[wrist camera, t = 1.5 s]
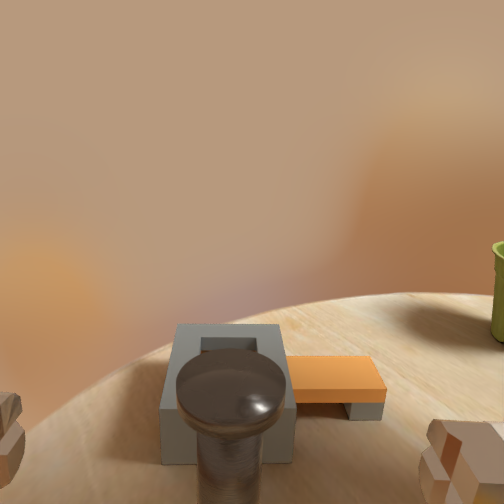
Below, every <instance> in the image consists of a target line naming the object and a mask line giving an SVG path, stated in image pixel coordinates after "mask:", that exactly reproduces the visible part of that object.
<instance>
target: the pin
mask: <svg viewBox="0 0 504 504" xmlns="http://www.w3.org/2000/svg"><path fill="white" fill-rule="evenodd" d="M285 393H286V378H285V375H284V373H283V371H282V370H281V368H280V367H279V366H278V365H277V364H276V363H275V362H274V361H273V360H271V359H270V358H268V357H266V356H264V355H262V354H260V353H257V352H254V351H250V350H245V349H236V348H225V349H217V350H212V351H208V352H205V353H202V354H200V355H198V356H196V357H194V358H192V359H191V360H189V361H188V362H187V363H186V364H185V365H184V366H183V367H182V368H181V369H180V371H179V373H178V375H177V378H176V404H177V410H178V413H179V415H180V417H181V418H182V420H183V421H184V422H185V423H186V424H187V425H188V426H189V427H190V428H192V429H193V430H195V431H197V504H259V500H260V483H261V466H262V450H263V433H264V431H266V430H268V429H269V428H271V427H272V426H273V425H274V424H275V423H276V422H277V421H278V420H279V418H280V417H281V415H282V413H283V410H284V405H285Z"/></svg>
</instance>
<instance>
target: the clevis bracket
mask: <svg viewBox="0 0 504 504" xmlns="http://www.w3.org/2000/svg"><path fill="white" fill-rule="evenodd" d="M225 348H236V349H245V350H250V351H254V352H257V353H260V354H262V355H264V356H266V357H268V358H270V359H271V360H273V361H274V362H275V363H276V364H277V365H278V366H279V367H280V368H281V370H282V371H283V373H284V375H285V378H286V393H285V405H284V410H283V413H282V415H281V417H280V418H279V420H278V421H277V422H276V423H275V424H274V425H273V426H272V427H271V428H269V429H268V430H266V431H264V433H263V450H262V463H292V455H293V444H294V434H295V423H296V412H297V407H296V403H343V404H344V407H345V409H346V412H347V415H348V418H349V420H381V419H382V414H383V408H384V403H385V398H386V392H387V388H386V386H385V384H384V382H383V380H382V378H381V376H380V375H379V373H378V371H377V369H376V367H375V365H374V363H373V361H372V359H371V358H370V356H286V355H285V350H284V346H283V341H282V336H281V331H280V327H279V324H177V329H176V334H175V338H174V342H173V347H172V352H171V356H170V361H169V365H168V370H167V375H166V379H165V384H164V388H163V393H162V397H161V402H160V407H159V420H160V440H161V460H162V465H176V464H197V431H195V430H193V429H192V428H190V427H189V426H188V425H187V424H186V423H185V422H184V421H183V420H182V418H181V417H180V415H179V413H178V410H177V404H176V378H177V375H178V373H179V371H180V369H181V368H182V367H183V366H184V365H185V364H186V363H187V362H188V361H189V360H191V359H192V358H194V357H196V356H198V355H200V354H202V353H205V352H208V351H212V350H217V349H225Z"/></svg>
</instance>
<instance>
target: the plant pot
mask: <svg viewBox="0 0 504 504" xmlns="http://www.w3.org/2000/svg"><path fill="white" fill-rule="evenodd" d="M492 252H493V253H494V254H495V271H496V276H495V287H494V299H493V311H492V322H491V333H492V335H493V336H494V337H495V338H496V339H497V340H498V341H500V342H504V241H502V242H498V243H495V244H494V245H493V246H492Z"/></svg>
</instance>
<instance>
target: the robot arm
mask: <svg viewBox="0 0 504 504" xmlns="http://www.w3.org/2000/svg"><path fill="white" fill-rule="evenodd" d="M21 412H22V405H21V399H20V396H18V395H17V394H16V393H9V392H0V489H1V488H3V487H4V486H6V485H7V484H9V483H10V482H11V481H12V479H13V477H14V476H15V474H16V473H17V471H18V469H19V466H20V463H21V461H22V458H23V455H24V449H25V430H24V429H23V428H22V427H21V426H20V425H19V423H18V422H17V421H16V419H17V418H18V416H19V415H20V414H21ZM426 436H427V438H428V440H429V441H430V443H431V446H430V447H428V448H427V449H426V450H425V451H424V452H423V453H422V454H421V459H420V464H419V482H420V486H421V490H422V494H423V496H424V498H425V501H426V503H427V504H504V422H492V421H483V422H475V421H457V420H439V419H433V421H432V422H431V423H430V425H429V427H428V431H427V435H426Z"/></svg>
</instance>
